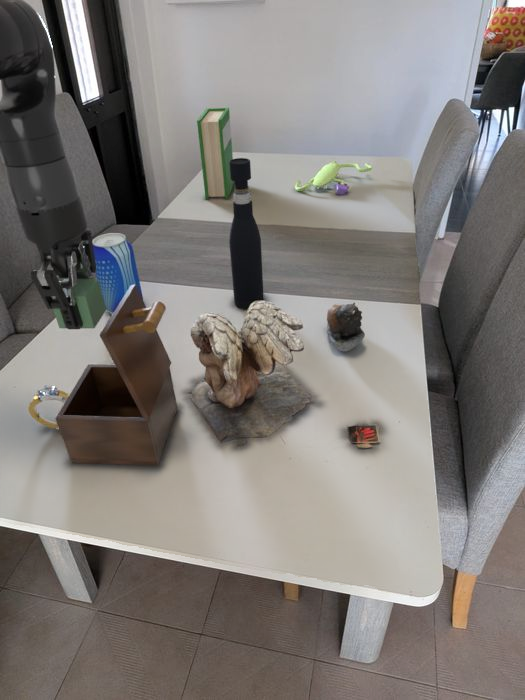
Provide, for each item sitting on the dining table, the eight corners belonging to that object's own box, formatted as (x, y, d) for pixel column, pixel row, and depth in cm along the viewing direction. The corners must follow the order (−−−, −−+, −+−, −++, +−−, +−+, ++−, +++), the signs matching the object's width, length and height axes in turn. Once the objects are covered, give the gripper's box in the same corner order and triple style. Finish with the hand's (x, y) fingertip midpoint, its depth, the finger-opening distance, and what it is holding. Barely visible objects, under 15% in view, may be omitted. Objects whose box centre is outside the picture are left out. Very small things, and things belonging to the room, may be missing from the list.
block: (59, 328, 70) (48, 296, 68) (73, 309, 74) (63, 278, 72) (94, 328, 70) (85, 296, 67) (106, 309, 74) (98, 278, 71)
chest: (71, 462, 76) (54, 418, 71) (101, 405, 86) (88, 363, 81) (157, 466, 75) (147, 421, 70) (177, 407, 85) (169, 365, 80)
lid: (99, 335, 62) (140, 327, 61) (130, 285, 72) (166, 277, 71) (144, 419, 70) (181, 414, 68) (166, 363, 80) (199, 358, 79)
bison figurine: (321, 324, 104) (322, 279, 98) (356, 322, 104) (359, 277, 98) (330, 359, 94) (332, 312, 88) (369, 357, 94) (373, 309, 88)
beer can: (97, 310, 112) (79, 241, 103) (128, 294, 117) (113, 227, 108) (121, 322, 108) (104, 251, 98) (152, 305, 113) (138, 237, 104)
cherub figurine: (272, 355, 96) (269, 268, 85) (325, 412, 82) (328, 317, 72) (182, 386, 90) (167, 296, 79) (224, 453, 76) (211, 355, 66)
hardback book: (228, 198, 167) (221, 119, 153) (205, 199, 168) (196, 120, 154) (234, 181, 182) (228, 107, 168) (213, 182, 182) (206, 108, 168)
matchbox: (344, 428, 79) (344, 426, 79) (375, 422, 80) (375, 420, 80) (354, 450, 75) (355, 448, 75) (387, 444, 76) (388, 441, 76)
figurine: (377, 177, 178) (378, 161, 175) (338, 200, 161) (338, 182, 158) (331, 170, 188) (331, 154, 184) (289, 191, 171) (289, 174, 168)
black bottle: (254, 312, 109) (245, 167, 91) (228, 305, 111) (215, 163, 94) (269, 298, 113) (263, 157, 96) (244, 292, 116) (234, 154, 98)
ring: (84, 421, 83) (71, 382, 79) (77, 435, 81) (63, 396, 76) (43, 420, 84) (28, 382, 79) (34, 434, 81) (18, 395, 77)
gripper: (42, 179, 68) (75, 292, 78) (-14, 219, 57) (34, 346, 67) (97, 177, 68) (123, 291, 77) (52, 218, 56) (90, 346, 66)
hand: (82, 316), depth 72 cm, fingers closed on block, 5 cm apart
